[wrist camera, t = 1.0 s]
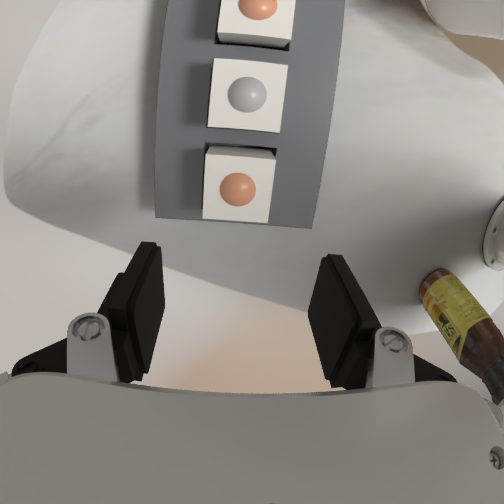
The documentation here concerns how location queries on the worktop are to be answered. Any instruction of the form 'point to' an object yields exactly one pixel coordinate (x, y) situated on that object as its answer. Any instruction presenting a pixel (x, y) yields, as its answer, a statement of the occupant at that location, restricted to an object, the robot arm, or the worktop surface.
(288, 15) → the dot key
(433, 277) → the sauce bottle
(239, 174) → the dot key
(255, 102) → the plain key
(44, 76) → the worktop surface
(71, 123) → the worktop surface
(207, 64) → the slotted grey tray
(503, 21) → the foam cup
